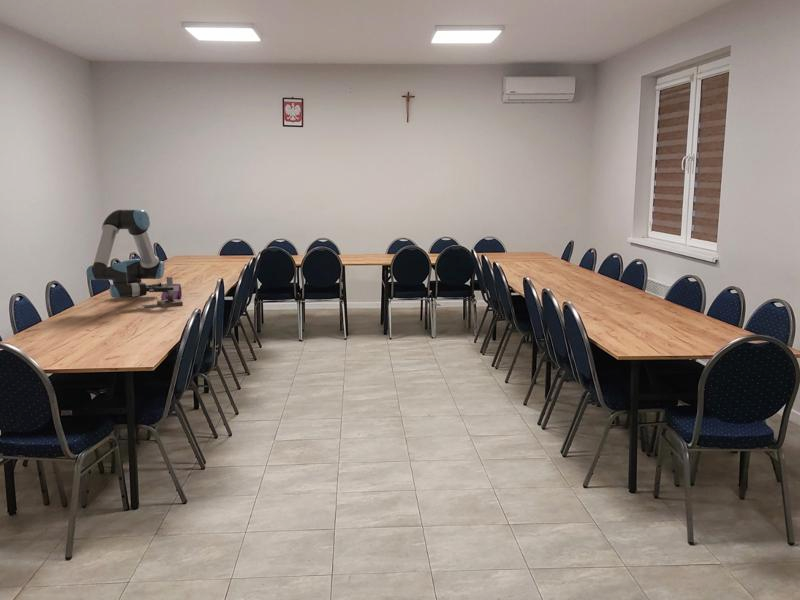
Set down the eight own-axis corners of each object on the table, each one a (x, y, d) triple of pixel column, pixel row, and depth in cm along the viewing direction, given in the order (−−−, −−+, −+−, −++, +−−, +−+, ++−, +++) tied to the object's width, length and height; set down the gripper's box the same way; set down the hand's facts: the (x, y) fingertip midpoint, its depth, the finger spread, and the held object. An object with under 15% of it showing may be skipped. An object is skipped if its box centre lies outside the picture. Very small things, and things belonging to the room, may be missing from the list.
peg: (167, 305, 434) (165, 277, 431) (172, 304, 436) (171, 276, 433) (168, 306, 431) (167, 277, 428) (174, 305, 433) (173, 277, 430)
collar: (157, 304, 435) (157, 300, 435) (177, 303, 441) (177, 299, 441) (162, 307, 425) (161, 303, 425) (182, 306, 431) (182, 301, 431)
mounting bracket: (177, 311, 446) (182, 294, 461) (175, 300, 442) (180, 283, 456) (161, 311, 446) (166, 294, 460) (159, 300, 441) (165, 283, 455)
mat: (141, 306, 430) (141, 305, 430) (155, 304, 435) (155, 304, 435) (145, 308, 422) (145, 308, 422) (159, 307, 426) (159, 306, 426)
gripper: (134, 292, 433) (170, 290, 444) (143, 298, 413) (181, 295, 424) (133, 280, 432) (170, 278, 443) (142, 285, 411) (180, 283, 422)
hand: (175, 286), depth 433 cm, fingers open, 13 cm apart
